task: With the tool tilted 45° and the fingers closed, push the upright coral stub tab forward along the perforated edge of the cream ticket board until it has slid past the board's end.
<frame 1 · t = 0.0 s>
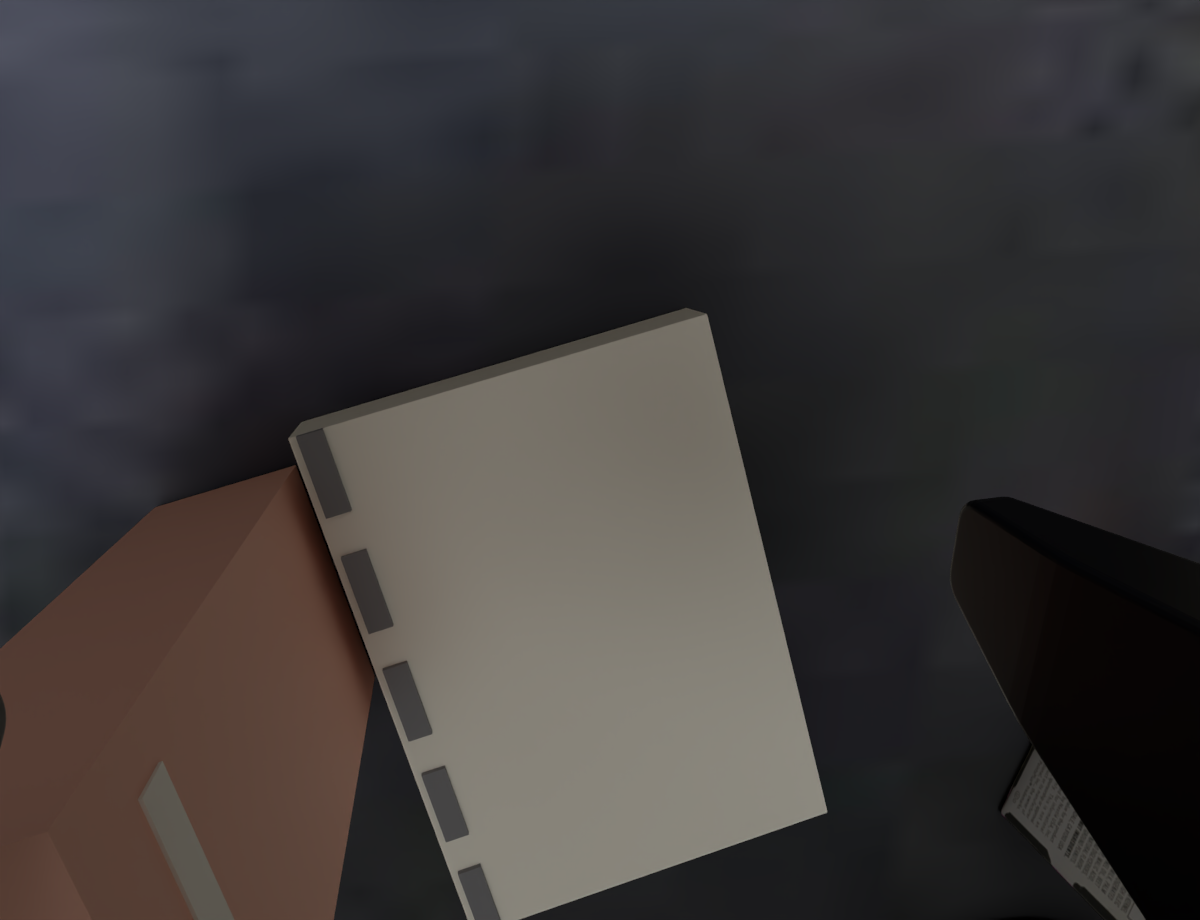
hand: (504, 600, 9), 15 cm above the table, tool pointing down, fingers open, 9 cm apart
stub: (191, 748, 17), point 8 cm above the table, slide at 0.0 cm
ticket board: (573, 612, 25), on the table
candy bar box: (1164, 777, 30), on the table
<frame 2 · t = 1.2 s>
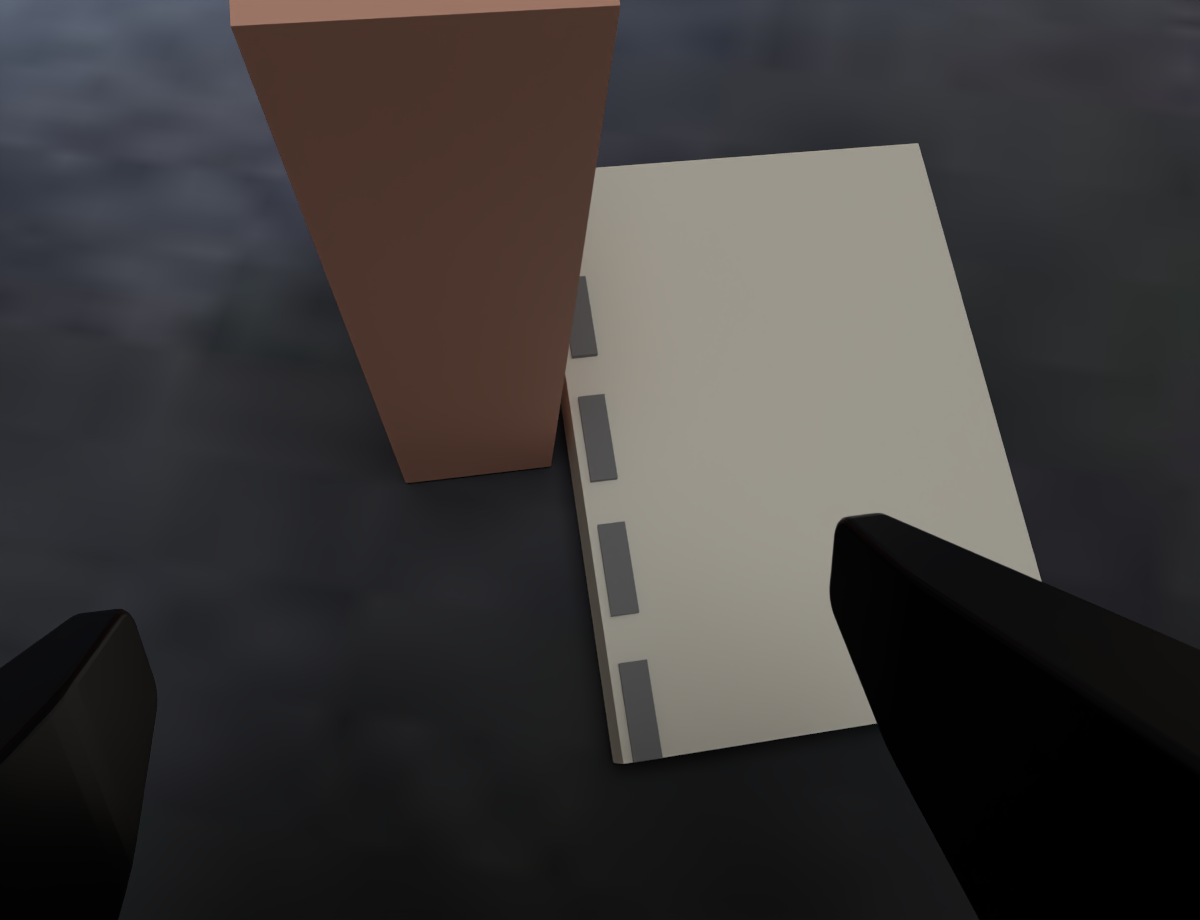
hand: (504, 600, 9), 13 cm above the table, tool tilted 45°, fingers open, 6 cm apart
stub: (447, 191, 17), point 8 cm above the table, slide at 0.0 cm
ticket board: (765, 443, 24), on the table
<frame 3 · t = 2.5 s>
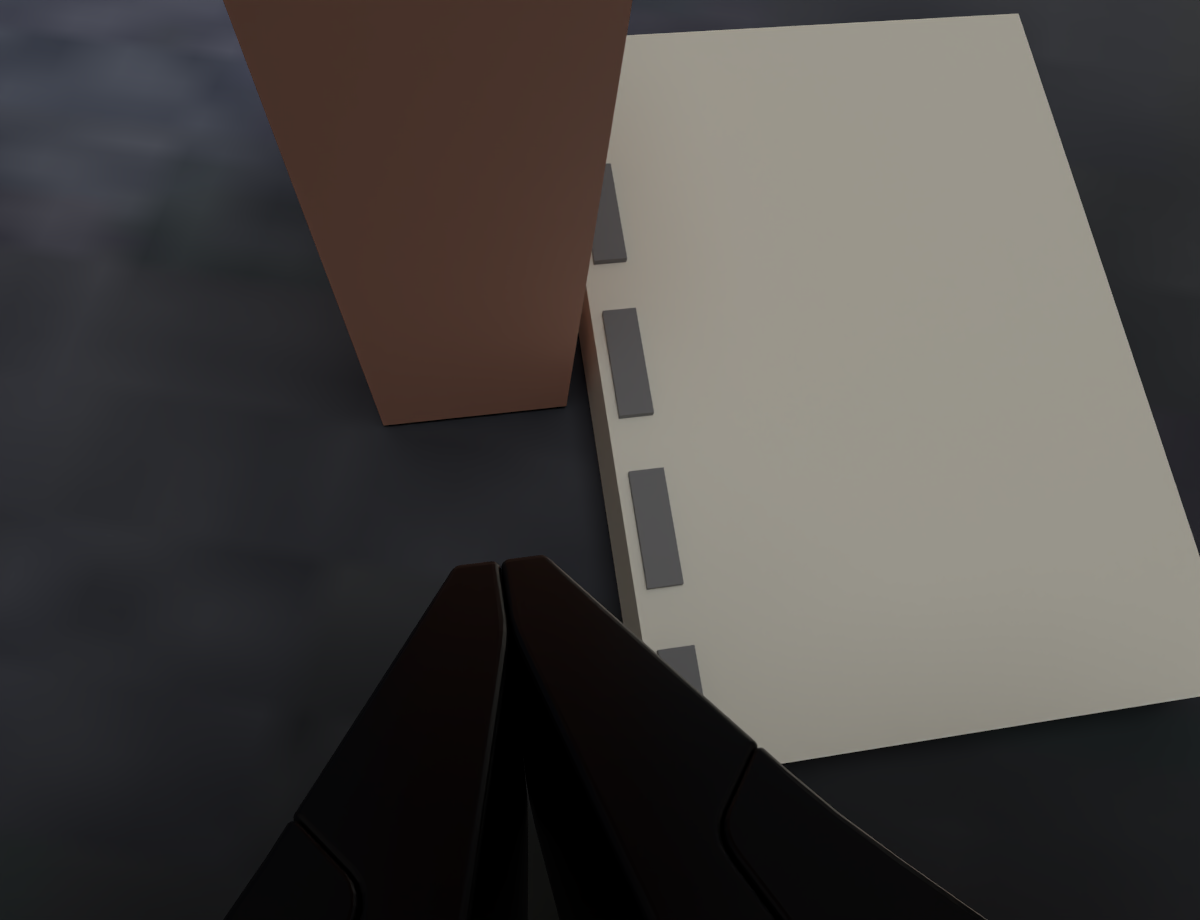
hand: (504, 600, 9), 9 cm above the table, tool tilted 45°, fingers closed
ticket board: (833, 380, 19), on the table
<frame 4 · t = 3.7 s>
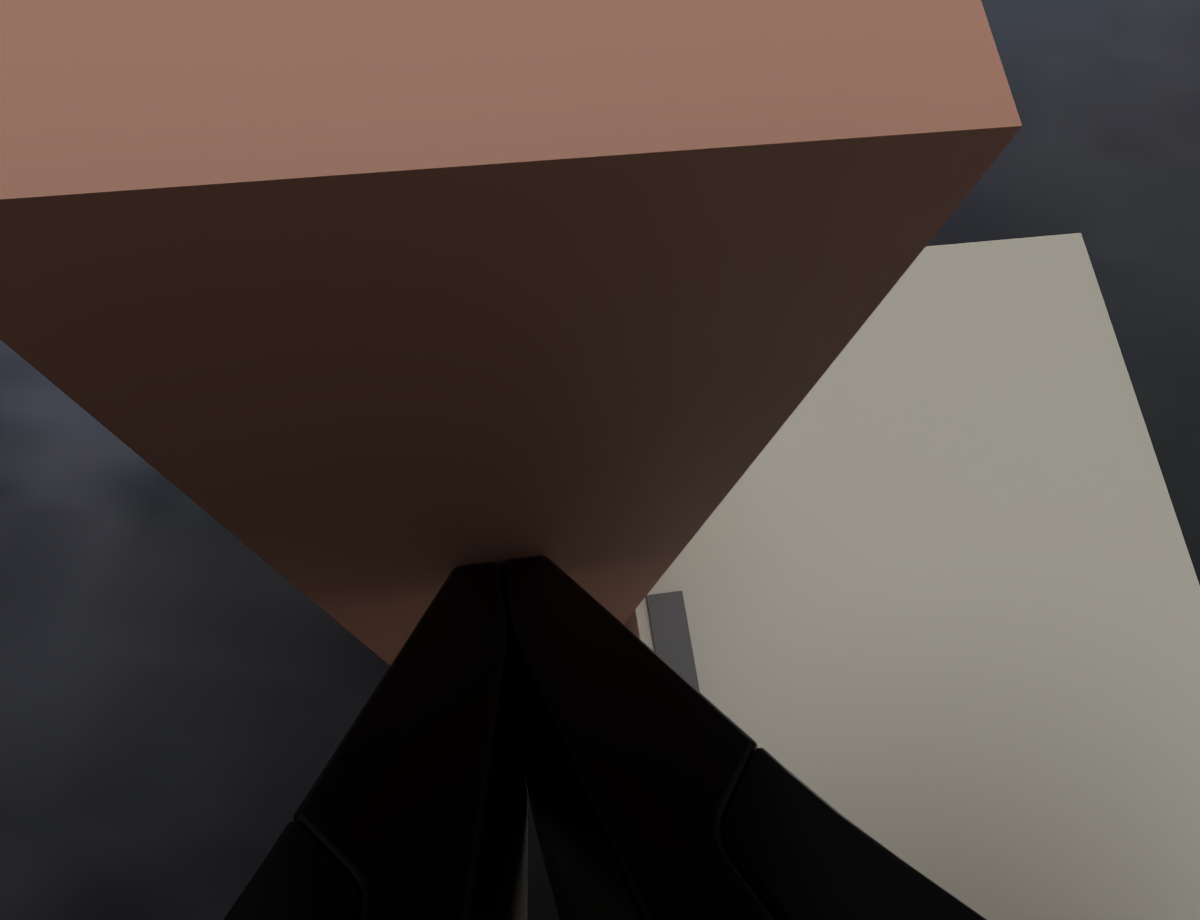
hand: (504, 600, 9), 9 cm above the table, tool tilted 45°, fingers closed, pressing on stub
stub: (471, 335, 11), point 8 cm above the table, slide at 0.4 cm, touching gripper
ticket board: (887, 633, 18), on the table
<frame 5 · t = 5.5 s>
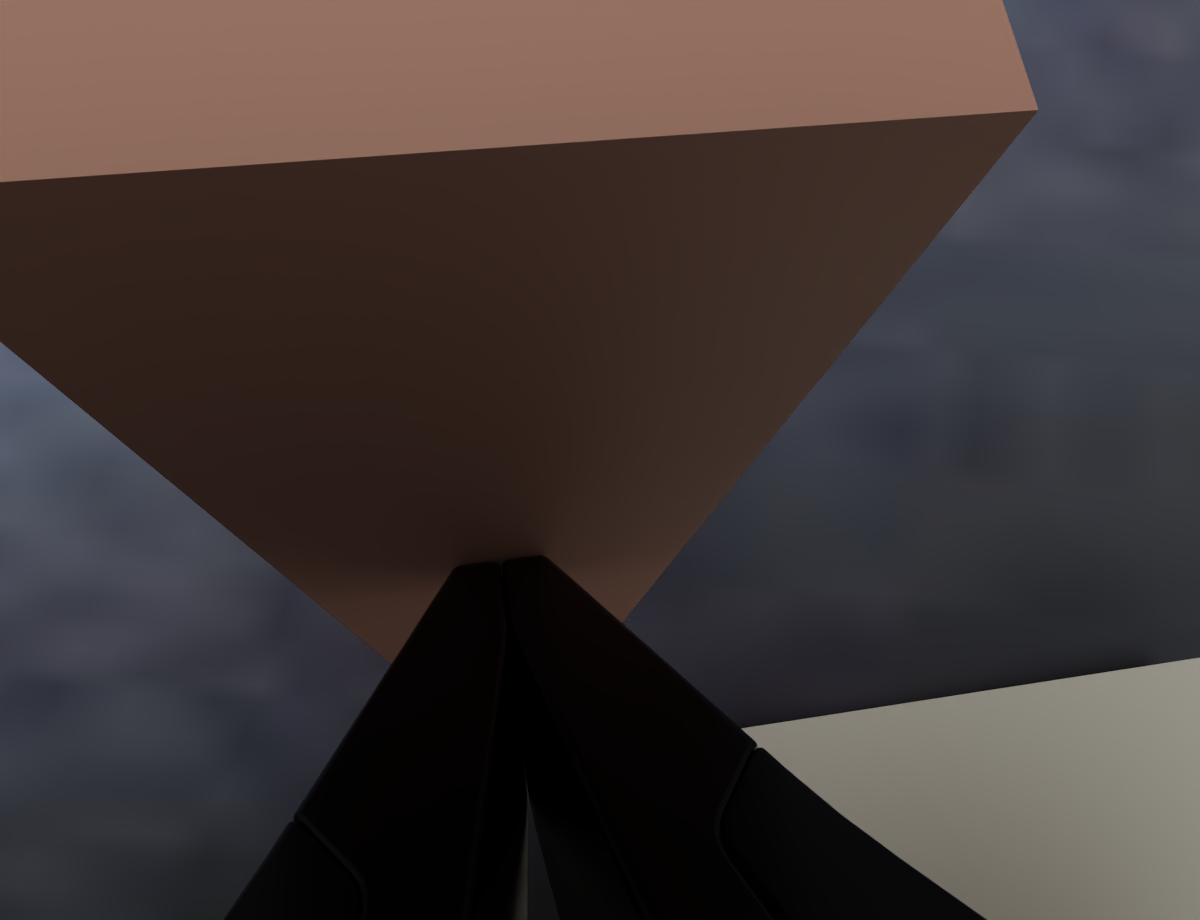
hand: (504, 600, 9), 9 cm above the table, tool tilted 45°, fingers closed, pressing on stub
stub: (470, 329, 11), point 8 cm above the table, slide at 8.7 cm, touching gripper
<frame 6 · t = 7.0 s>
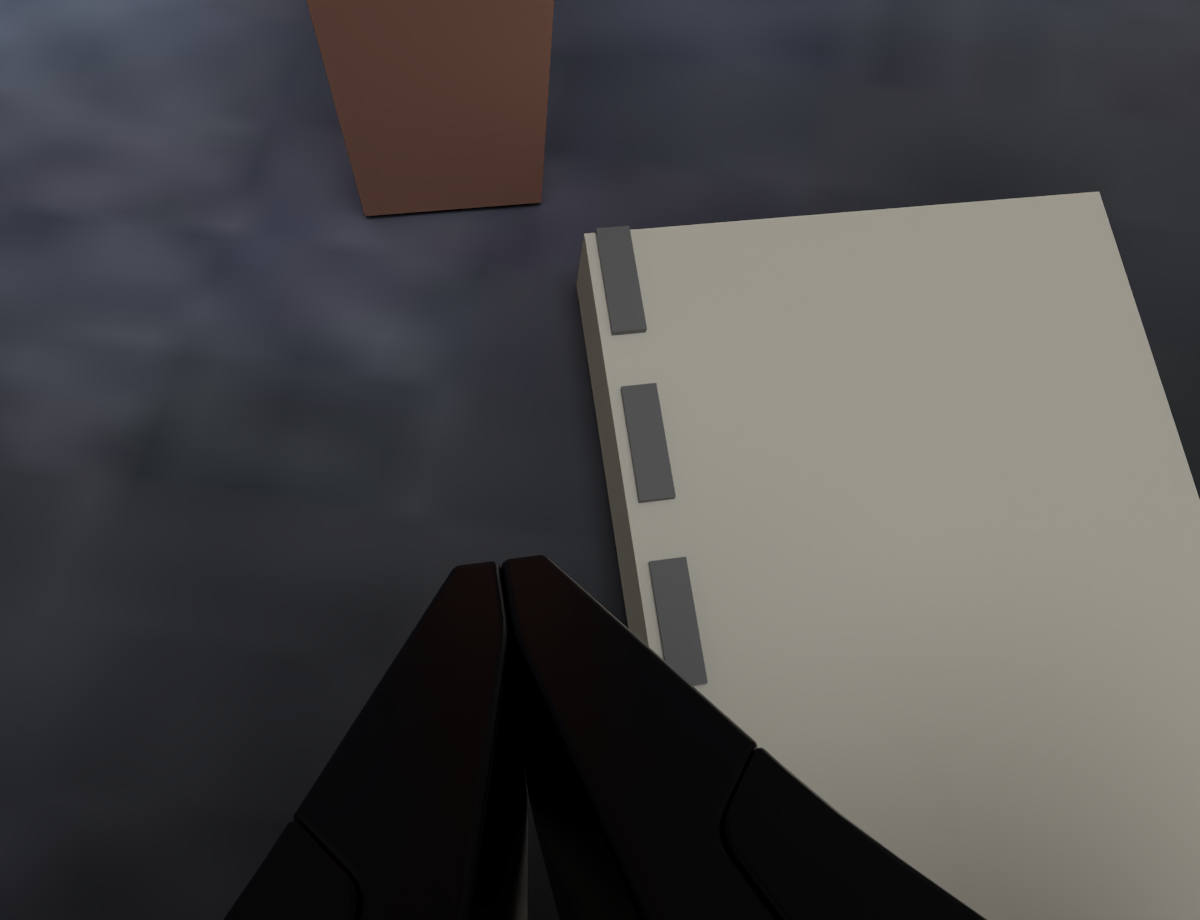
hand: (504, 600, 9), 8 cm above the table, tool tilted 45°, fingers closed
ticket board: (895, 602, 18), on the table
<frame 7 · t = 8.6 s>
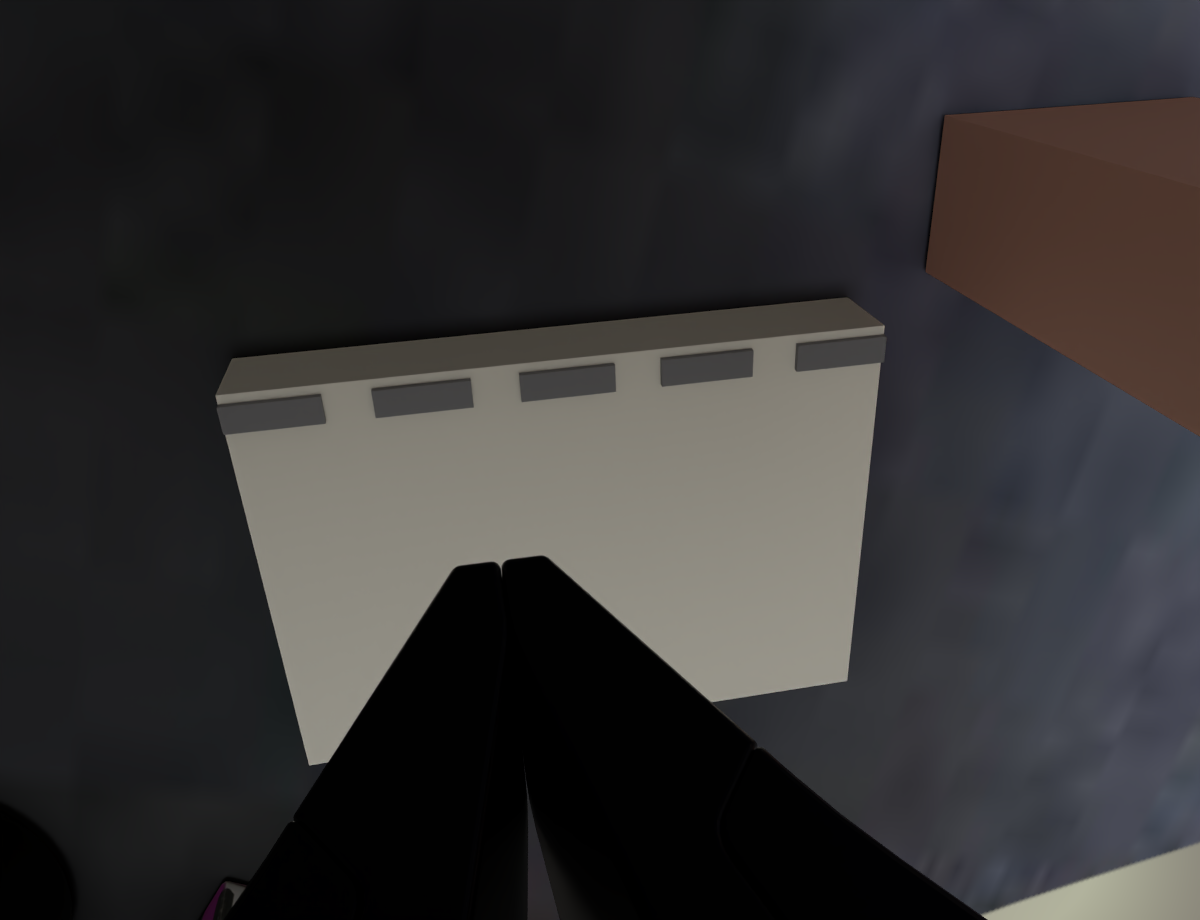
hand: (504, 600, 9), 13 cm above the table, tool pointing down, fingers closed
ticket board: (566, 515, 24), on the table
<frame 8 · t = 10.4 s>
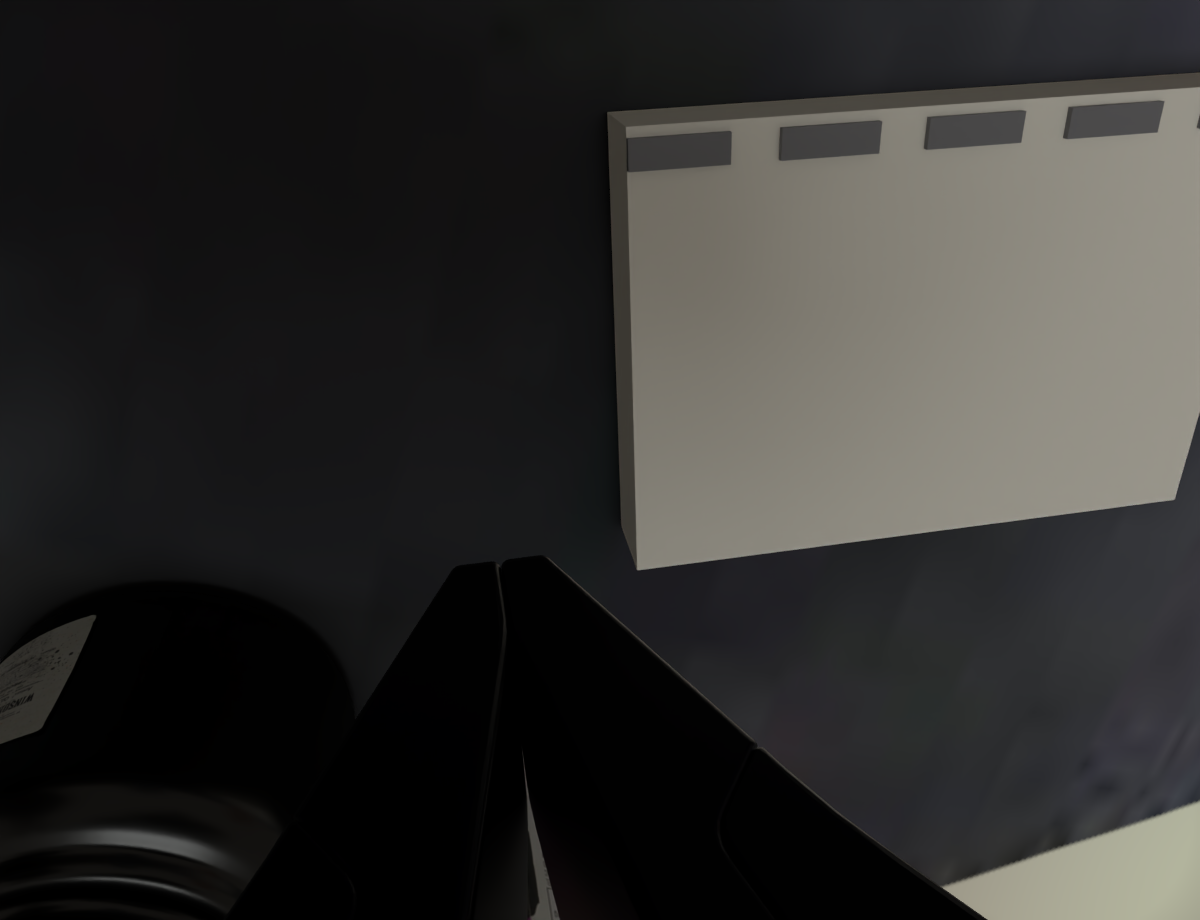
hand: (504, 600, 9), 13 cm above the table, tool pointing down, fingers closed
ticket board: (902, 313, 23), on the table
candy bar box: (480, 855, 29), on the table
ink bottle: (183, 714, 25), on the table
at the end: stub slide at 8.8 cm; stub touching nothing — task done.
